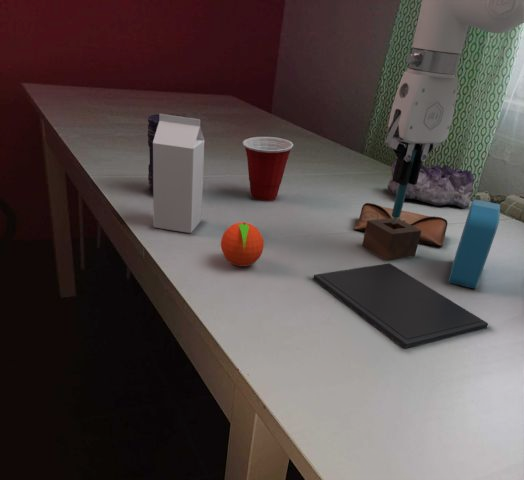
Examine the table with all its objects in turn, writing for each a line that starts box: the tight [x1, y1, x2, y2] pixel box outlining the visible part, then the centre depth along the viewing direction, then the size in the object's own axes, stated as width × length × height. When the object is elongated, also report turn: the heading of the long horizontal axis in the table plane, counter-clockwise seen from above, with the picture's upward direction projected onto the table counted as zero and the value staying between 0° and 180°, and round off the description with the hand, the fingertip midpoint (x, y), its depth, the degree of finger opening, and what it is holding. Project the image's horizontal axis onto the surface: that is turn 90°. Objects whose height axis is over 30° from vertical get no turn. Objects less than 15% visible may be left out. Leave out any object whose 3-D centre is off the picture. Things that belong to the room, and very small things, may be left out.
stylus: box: [392, 149, 416, 224], centre depth 94 cm, size 2×2×13 cm
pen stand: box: [361, 218, 421, 261], centre depth 99 cm, size 7×7×5 cm
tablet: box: [313, 262, 489, 349], centre depth 82 cm, size 16×22×1 cm
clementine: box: [220, 221, 265, 267], centre depth 86 cm, size 8×7×7 cm
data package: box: [448, 199, 501, 290], centre depth 91 cm, size 12×4×12 cm, turn 158°
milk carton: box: [152, 113, 205, 234], centre depth 96 cm, size 7×7×19 cm
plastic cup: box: [242, 136, 294, 202], centre depth 118 cm, size 11×11×12 cm
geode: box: [386, 161, 475, 209], centre depth 130 cm, size 20×12×10 cm, turn 80°
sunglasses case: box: [354, 202, 448, 247], centre depth 109 cm, size 18×7×7 cm
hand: (404, 182), depth 94 cm, fingers closed on stylus, 1 cm apart
